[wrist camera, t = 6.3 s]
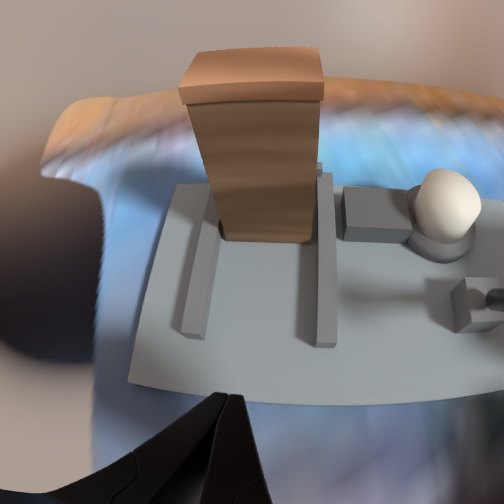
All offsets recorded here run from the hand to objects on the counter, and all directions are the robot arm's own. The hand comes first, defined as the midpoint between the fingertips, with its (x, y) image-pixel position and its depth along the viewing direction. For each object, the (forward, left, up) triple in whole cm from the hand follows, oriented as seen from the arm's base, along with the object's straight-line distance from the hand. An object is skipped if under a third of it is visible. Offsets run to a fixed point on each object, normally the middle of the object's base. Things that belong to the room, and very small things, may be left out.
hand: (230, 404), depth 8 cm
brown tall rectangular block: (+11, 0, -7) cm, 13 cm away
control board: (+8, -6, -8) cm, 13 cm away
